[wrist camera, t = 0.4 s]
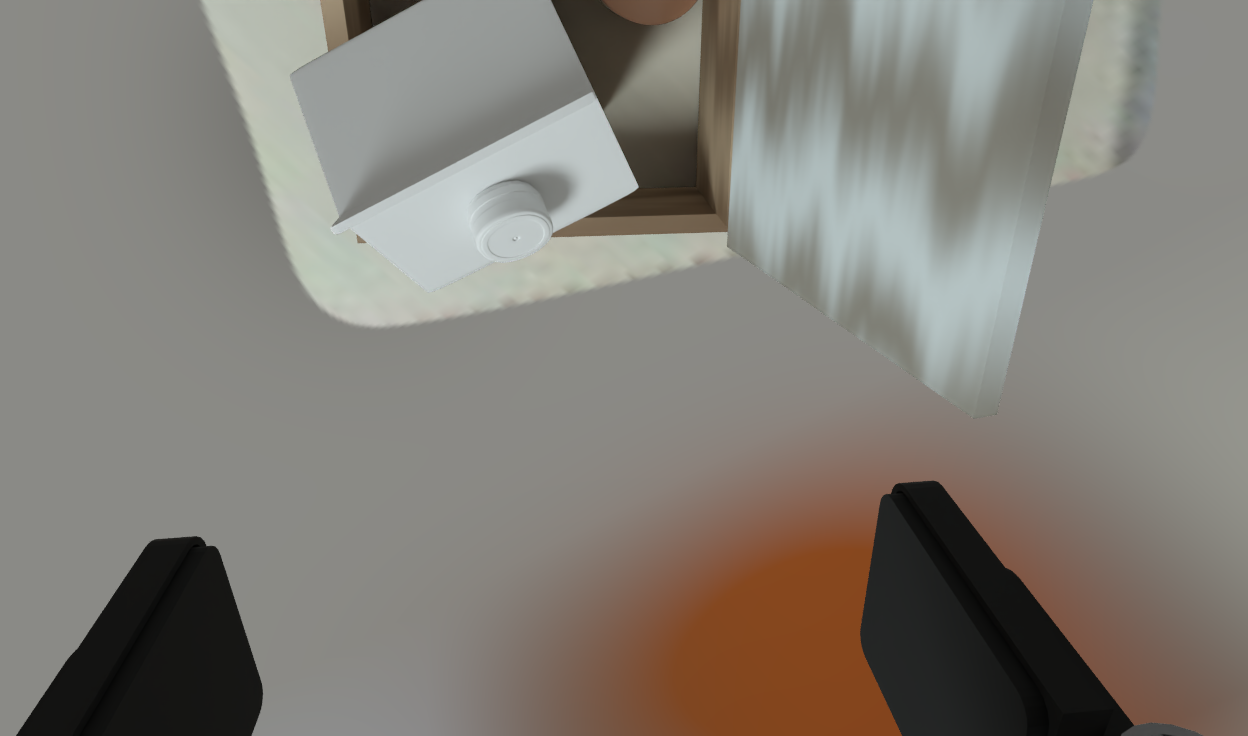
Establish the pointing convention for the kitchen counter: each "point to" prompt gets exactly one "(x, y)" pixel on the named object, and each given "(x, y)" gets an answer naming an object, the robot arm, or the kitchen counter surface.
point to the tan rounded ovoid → (649, 10)
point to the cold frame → (873, 164)
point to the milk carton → (460, 135)
